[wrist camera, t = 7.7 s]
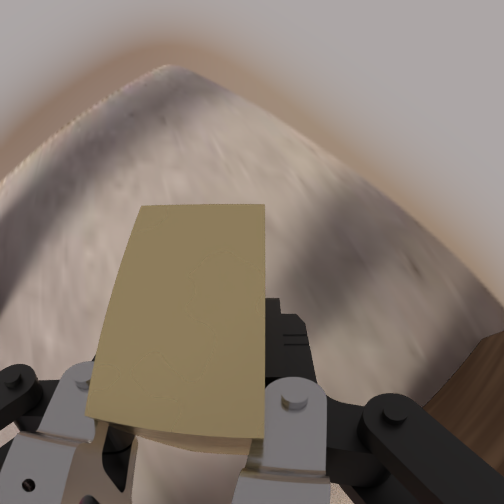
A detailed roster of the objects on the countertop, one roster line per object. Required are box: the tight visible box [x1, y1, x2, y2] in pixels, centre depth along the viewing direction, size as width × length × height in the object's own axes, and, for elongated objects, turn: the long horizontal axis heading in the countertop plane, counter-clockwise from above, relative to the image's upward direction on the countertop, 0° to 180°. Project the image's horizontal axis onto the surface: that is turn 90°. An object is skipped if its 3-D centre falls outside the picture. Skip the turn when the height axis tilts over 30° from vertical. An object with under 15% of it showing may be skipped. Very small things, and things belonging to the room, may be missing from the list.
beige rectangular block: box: [84, 204, 265, 455], centre depth 10 cm, size 5×3×10 cm, turn 179°
